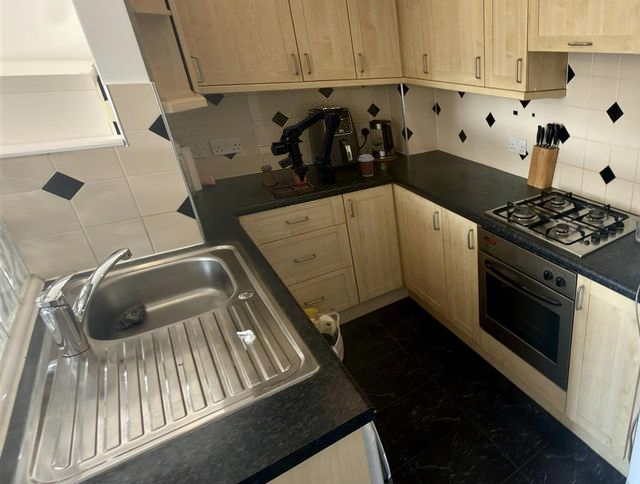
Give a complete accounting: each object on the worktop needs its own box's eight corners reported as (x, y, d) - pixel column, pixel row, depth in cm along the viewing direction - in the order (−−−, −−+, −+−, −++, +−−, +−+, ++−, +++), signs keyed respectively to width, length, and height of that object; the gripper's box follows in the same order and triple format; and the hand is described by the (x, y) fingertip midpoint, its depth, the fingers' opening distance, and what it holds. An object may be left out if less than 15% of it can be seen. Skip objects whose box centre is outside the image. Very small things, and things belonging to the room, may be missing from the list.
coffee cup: (357, 176, 244) (354, 156, 239) (367, 172, 252) (364, 153, 247) (369, 177, 241) (366, 158, 236) (379, 173, 249) (376, 154, 244)
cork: (271, 186, 224) (266, 167, 219) (261, 185, 225) (256, 166, 221) (278, 183, 229) (274, 164, 225) (269, 182, 230) (265, 163, 226)
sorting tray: (308, 185, 227) (307, 181, 226) (314, 190, 219) (314, 186, 218) (272, 191, 216) (271, 187, 215) (278, 198, 208) (277, 193, 207)
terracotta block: (304, 180, 222) (302, 171, 220) (307, 182, 218) (305, 173, 216) (294, 182, 219) (292, 173, 217) (297, 184, 215) (295, 175, 213)
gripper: (273, 150, 213) (279, 179, 220) (282, 158, 201) (289, 188, 207) (295, 147, 220) (301, 175, 226) (306, 154, 207) (312, 183, 214)
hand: (300, 180), depth 218 cm, fingers closed on terracotta block, 5 cm apart
